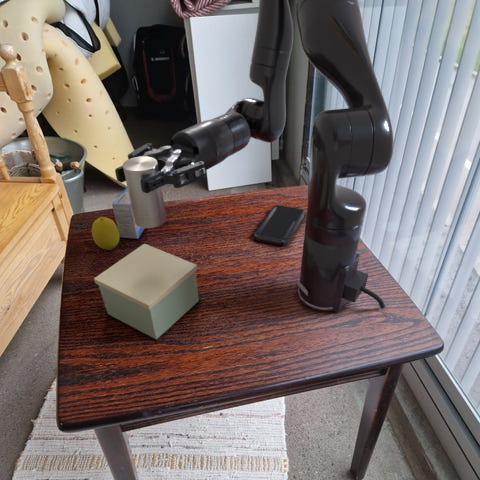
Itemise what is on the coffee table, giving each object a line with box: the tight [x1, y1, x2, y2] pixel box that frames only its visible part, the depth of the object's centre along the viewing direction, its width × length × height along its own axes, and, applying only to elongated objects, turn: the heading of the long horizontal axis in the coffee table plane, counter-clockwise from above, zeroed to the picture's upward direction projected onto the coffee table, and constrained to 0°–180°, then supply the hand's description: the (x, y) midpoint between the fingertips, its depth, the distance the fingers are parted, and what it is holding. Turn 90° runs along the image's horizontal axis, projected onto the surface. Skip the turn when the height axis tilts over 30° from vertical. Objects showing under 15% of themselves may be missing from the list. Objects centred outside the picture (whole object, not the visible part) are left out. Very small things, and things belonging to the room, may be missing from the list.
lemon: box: [91, 216, 121, 251], centre depth 90 cm, size 6×6×8 cm
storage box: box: [93, 243, 200, 340], centre depth 76 cm, size 13×13×8 cm
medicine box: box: [111, 187, 146, 240], centre depth 95 cm, size 8×4×9 cm, turn 168°
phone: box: [253, 204, 305, 247], centre depth 98 cm, size 8×1×15 cm
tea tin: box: [122, 156, 167, 229], centre depth 69 cm, size 5×5×10 cm
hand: (130, 181), depth 66 cm, fingers closed on tea tin, 5 cm apart
